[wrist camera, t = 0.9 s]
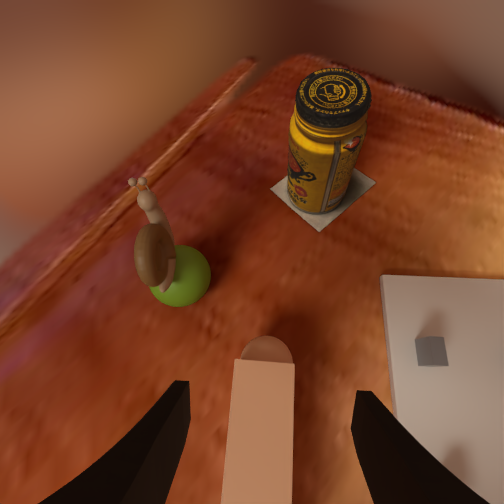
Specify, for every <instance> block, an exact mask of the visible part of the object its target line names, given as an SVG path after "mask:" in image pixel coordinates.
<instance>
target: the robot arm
mask: <svg viewBox="0 0 504 504" xmlns="http://www.w3.org/2000/svg"><path fill="white" fill-rule="evenodd" d="M190 420H191V415H190V389H189V381H177V380H175V381H174V382H173V383H172V384H171V385H170V387H169V388H168V389H167V390H166V392H165V393H164V394H163V395H162V396H161V397H160V399H159V400H158V401H157V402H156V403H155V404H154V406H153V407H152V408H151V409H150V410H149V411H148V412H147V413H146V414H145V415H144V417H143V418H142V419H141V420H140V421H139V422H138V423H137V424H136V425H135V426H134V427H133V428H132V429H131V430H130V431H129V432H128V433H127V434H126V435H125V436H124V437H123V438H122V439H121V440H120V441H119V442H118V443H117V444H115V445H114V446H113V447H112V448H111V449H110V450H109V451H108V452H106V453H105V454H104V455H103V456H102V457H101V458H100V459H98V460H97V461H96V462H95V463H93V464H92V465H91V466H90V467H88V468H87V469H86V470H85V471H83V472H82V473H81V474H80V475H78V476H77V477H76V478H74V479H73V480H72V481H70V482H69V483H68V484H66V485H65V486H63V487H62V488H60V489H59V490H58V491H56V492H55V493H53V494H52V495H50V496H49V497H47V498H46V499H44V500H43V501H41V502H40V503H38V504H165V502H166V499H167V496H168V493H169V490H170V487H171V484H172V481H173V478H174V475H175V472H176V470H177V467H178V464H179V461H180V458H181V455H182V452H183V449H184V446H185V442H186V438H187V433H188V429H189V424H190ZM351 432H352V436H353V440H354V445H355V449H356V453H357V456H358V459H359V462H360V465H361V468H362V471H363V474H364V477H365V480H366V482H367V485H368V488H369V491H370V494H371V497H372V499H373V502H374V504H490V503H489V502H487V501H486V500H485V499H483V498H482V497H481V496H479V495H478V494H477V493H476V492H474V491H473V490H472V489H471V488H469V487H468V486H467V485H466V484H464V483H463V482H462V481H461V480H460V479H459V478H457V477H456V476H455V475H454V474H453V473H452V472H450V471H449V470H448V469H447V468H446V467H445V466H444V465H442V464H441V463H440V462H439V461H438V460H437V459H436V458H435V457H434V456H433V455H432V454H431V453H430V452H429V451H427V450H426V449H425V448H424V447H423V446H422V445H421V444H420V443H419V442H418V441H417V440H416V439H415V438H414V437H413V436H412V435H411V434H410V433H409V432H408V431H407V430H406V428H405V427H404V426H403V425H402V424H401V423H400V422H399V421H398V420H397V419H396V418H395V417H394V416H393V414H392V413H391V412H390V411H389V410H388V409H387V408H386V407H385V406H384V405H383V403H382V402H381V401H380V400H379V399H378V398H377V397H376V396H375V395H374V393H373V392H372V391H360V390H357V392H356V399H355V405H354V411H353V418H352V424H351Z"/></svg>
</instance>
